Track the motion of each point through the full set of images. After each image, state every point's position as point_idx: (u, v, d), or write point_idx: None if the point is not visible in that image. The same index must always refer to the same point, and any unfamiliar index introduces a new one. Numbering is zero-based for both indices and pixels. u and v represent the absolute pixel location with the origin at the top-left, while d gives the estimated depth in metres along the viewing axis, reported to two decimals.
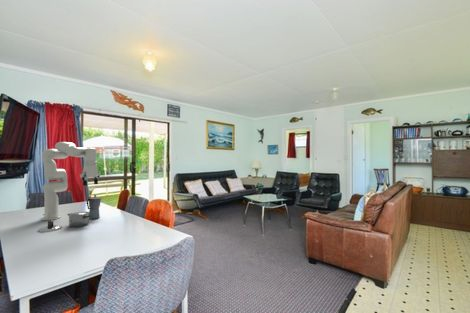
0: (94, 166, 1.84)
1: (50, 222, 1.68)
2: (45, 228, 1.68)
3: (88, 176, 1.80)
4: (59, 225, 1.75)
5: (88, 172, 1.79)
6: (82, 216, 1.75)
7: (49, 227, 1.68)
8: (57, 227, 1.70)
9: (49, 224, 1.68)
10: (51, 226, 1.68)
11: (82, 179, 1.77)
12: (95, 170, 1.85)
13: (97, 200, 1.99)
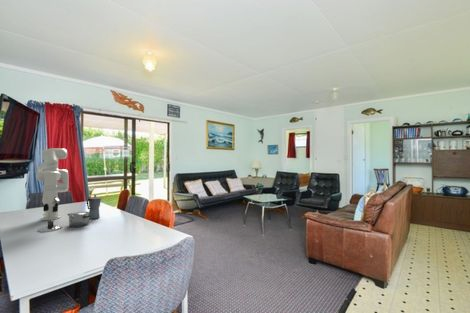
0: None
1: (50, 222, 1.68)
2: (45, 228, 1.68)
3: None
4: (59, 225, 1.75)
5: None
6: (82, 216, 1.75)
7: (49, 227, 1.68)
8: (57, 227, 1.70)
9: (49, 224, 1.68)
10: (51, 226, 1.68)
11: (56, 205, 1.66)
12: None
13: (97, 200, 1.99)
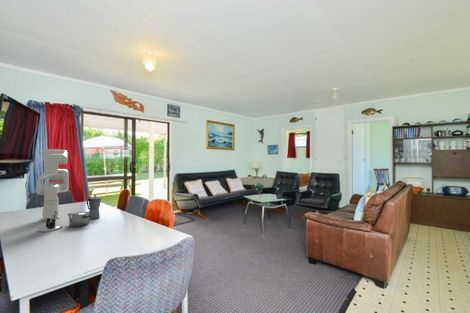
0: None
1: None
2: (45, 228, 1.68)
3: None
4: (59, 225, 1.75)
5: None
6: (82, 216, 1.75)
7: (49, 227, 1.68)
8: (57, 227, 1.70)
9: (49, 224, 1.68)
10: None
11: (53, 221, 1.68)
12: None
13: (97, 200, 1.99)
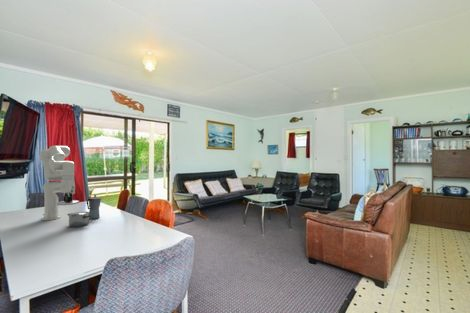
0: None
1: None
2: (63, 202, 1.74)
3: None
4: (76, 200, 1.81)
5: None
6: (82, 216, 1.75)
7: (67, 201, 1.73)
8: (74, 201, 1.76)
9: (67, 198, 1.73)
10: None
11: (71, 195, 1.73)
12: None
13: (97, 200, 1.99)
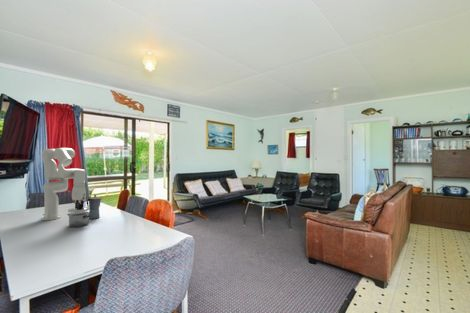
0: None
1: (79, 203, 1.78)
2: (74, 209, 1.78)
3: None
4: (86, 207, 1.85)
5: None
6: (82, 216, 1.75)
7: (78, 208, 1.78)
8: (85, 208, 1.80)
9: (78, 205, 1.78)
10: None
11: (82, 202, 1.78)
12: None
13: (97, 200, 1.99)
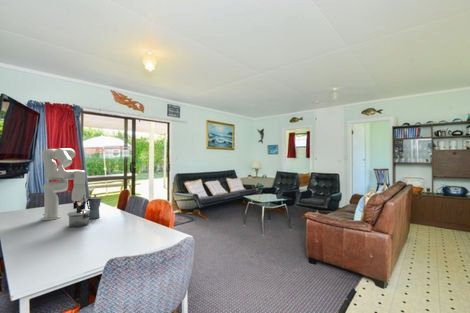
0: None
1: (79, 206, 1.78)
2: (74, 212, 1.78)
3: None
4: (86, 210, 1.85)
5: None
6: (82, 216, 1.75)
7: (78, 211, 1.78)
8: (85, 211, 1.80)
9: (78, 208, 1.78)
10: (80, 210, 1.78)
11: (84, 203, 1.77)
12: None
13: (97, 200, 1.99)
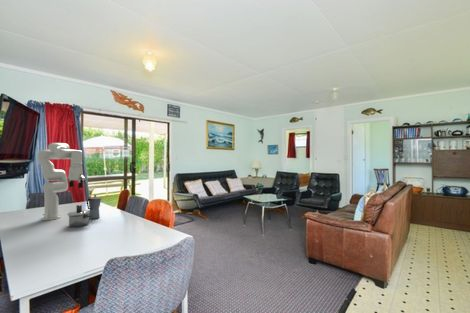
0: None
1: (79, 206, 1.78)
2: (74, 212, 1.78)
3: None
4: (86, 210, 1.85)
5: None
6: (82, 216, 1.75)
7: (78, 211, 1.78)
8: (85, 211, 1.80)
9: (78, 208, 1.78)
10: (80, 210, 1.78)
11: (81, 181, 1.78)
12: None
13: (97, 200, 1.99)
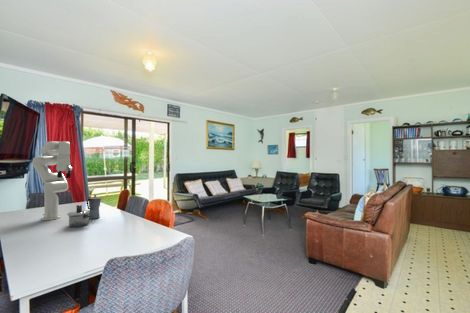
0: None
1: (79, 206, 1.78)
2: (74, 212, 1.78)
3: None
4: (86, 210, 1.85)
5: None
6: (82, 216, 1.75)
7: (78, 211, 1.78)
8: (85, 211, 1.80)
9: (78, 208, 1.78)
10: (80, 210, 1.78)
11: (69, 172, 1.84)
12: None
13: (97, 200, 1.99)
